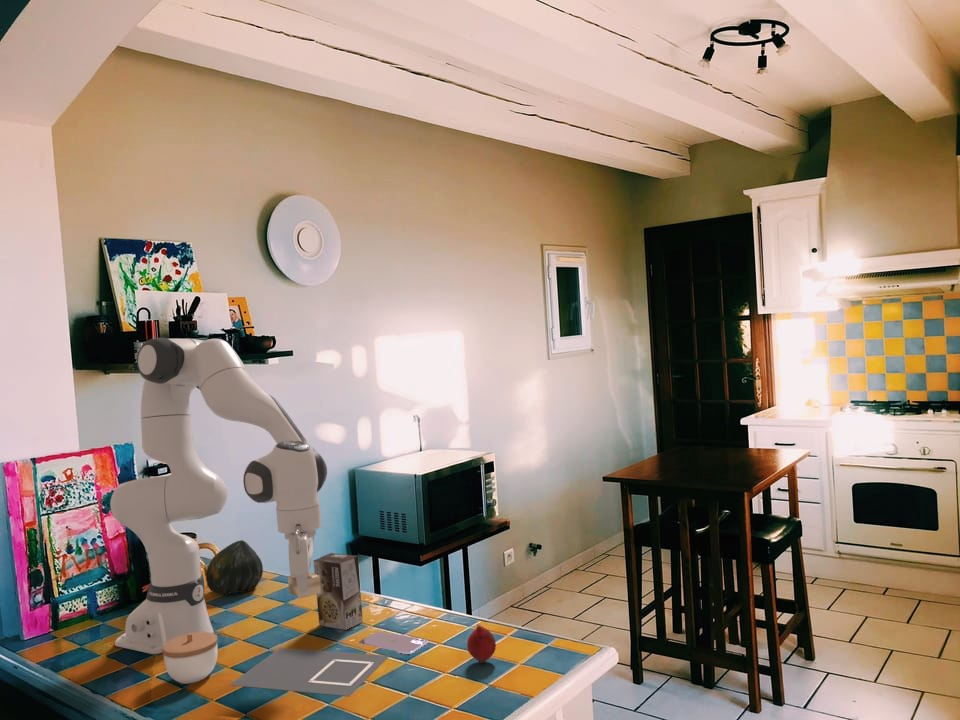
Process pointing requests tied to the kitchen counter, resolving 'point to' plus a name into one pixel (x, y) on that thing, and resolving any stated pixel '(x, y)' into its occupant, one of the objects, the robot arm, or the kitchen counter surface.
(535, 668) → the kitchen counter surface
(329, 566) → the coffee box
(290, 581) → the taped cardboard box
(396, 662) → the kitchen counter surface
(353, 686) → the rubber mat
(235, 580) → the squash
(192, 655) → the lidded jar
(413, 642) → the mobile phone
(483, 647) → the onion
